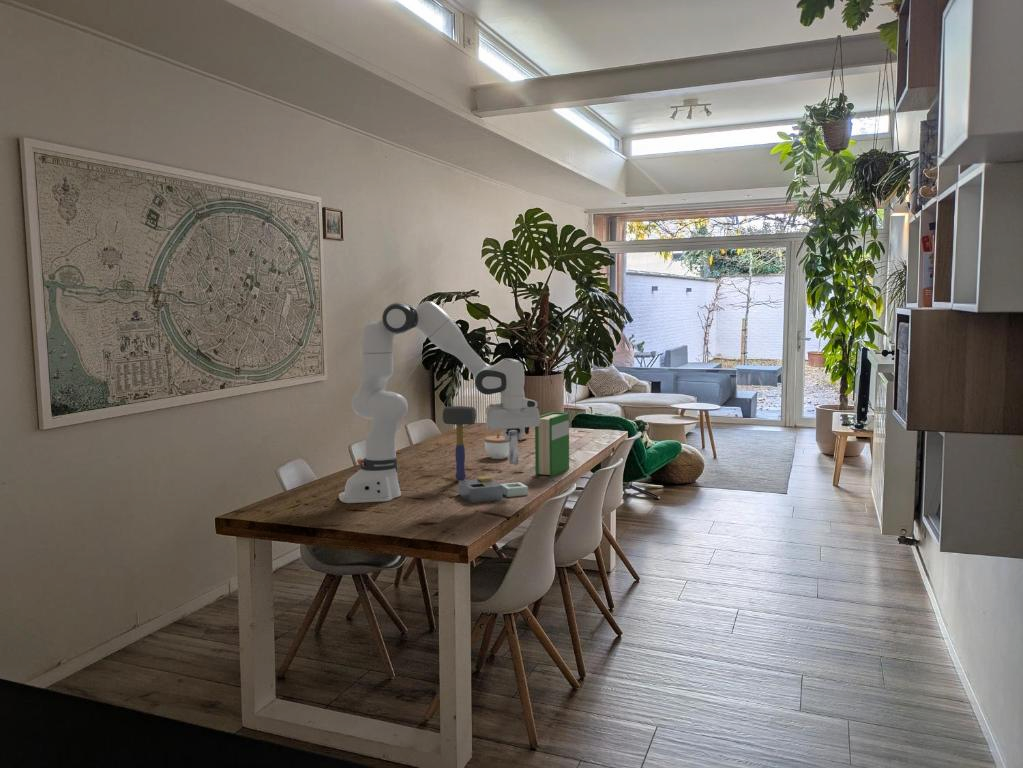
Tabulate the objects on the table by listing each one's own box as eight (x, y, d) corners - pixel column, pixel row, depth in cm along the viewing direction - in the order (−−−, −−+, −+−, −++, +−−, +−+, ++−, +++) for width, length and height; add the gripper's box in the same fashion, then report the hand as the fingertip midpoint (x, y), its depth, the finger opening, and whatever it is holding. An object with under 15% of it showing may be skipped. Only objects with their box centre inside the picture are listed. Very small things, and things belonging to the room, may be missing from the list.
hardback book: (552, 477, 312) (551, 418, 309) (535, 475, 315) (535, 417, 313) (569, 468, 327) (568, 412, 325) (553, 467, 331) (552, 411, 328)
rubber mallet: (442, 482, 305) (441, 407, 302) (448, 478, 312) (447, 404, 309) (473, 483, 302) (471, 407, 299) (478, 479, 309) (477, 405, 306)
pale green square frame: (507, 496, 280) (507, 488, 280) (500, 492, 287) (500, 484, 287) (528, 494, 283) (527, 486, 282) (520, 489, 290) (520, 482, 290)
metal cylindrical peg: (511, 464, 282) (510, 432, 281) (507, 462, 285) (507, 430, 284) (519, 463, 283) (519, 431, 282) (516, 461, 286) (515, 430, 285)
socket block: (470, 502, 272) (470, 488, 271) (459, 494, 285) (458, 480, 284) (502, 499, 276) (502, 485, 276) (489, 491, 289) (489, 477, 289)
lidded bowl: (513, 455, 359) (513, 431, 358) (510, 460, 347) (510, 436, 346) (486, 454, 361) (486, 431, 360) (482, 460, 348) (482, 436, 347)
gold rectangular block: (481, 495, 282) (480, 479, 282) (477, 492, 286) (477, 476, 286) (492, 494, 284) (492, 478, 283) (488, 491, 288) (488, 475, 287)
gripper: (488, 405, 275) (489, 443, 277) (541, 402, 282) (542, 439, 284) (483, 403, 281) (483, 440, 282) (534, 400, 288) (535, 436, 290)
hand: (513, 440), depth 283 cm, fingers closed on metal cylindrical peg, 3 cm apart
